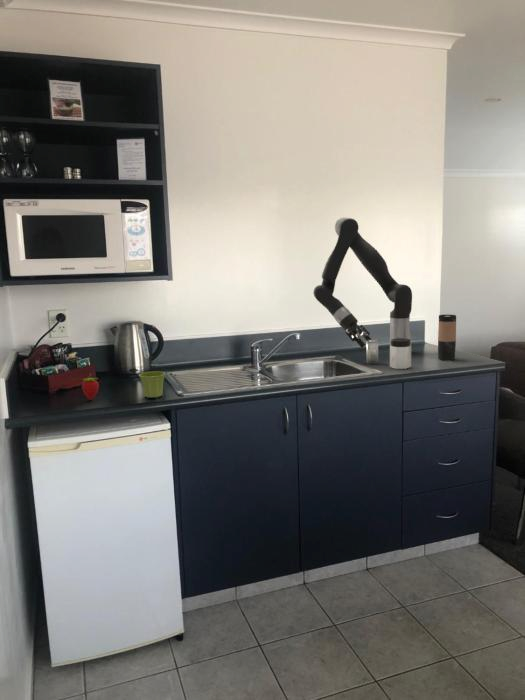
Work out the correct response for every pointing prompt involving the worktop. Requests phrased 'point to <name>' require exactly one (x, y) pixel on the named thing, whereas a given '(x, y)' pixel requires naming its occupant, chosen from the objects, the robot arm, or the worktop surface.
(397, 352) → the jar
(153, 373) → the plant pot
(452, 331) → the travel mug
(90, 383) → the strawberry
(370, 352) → the canister
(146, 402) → the worktop surface
